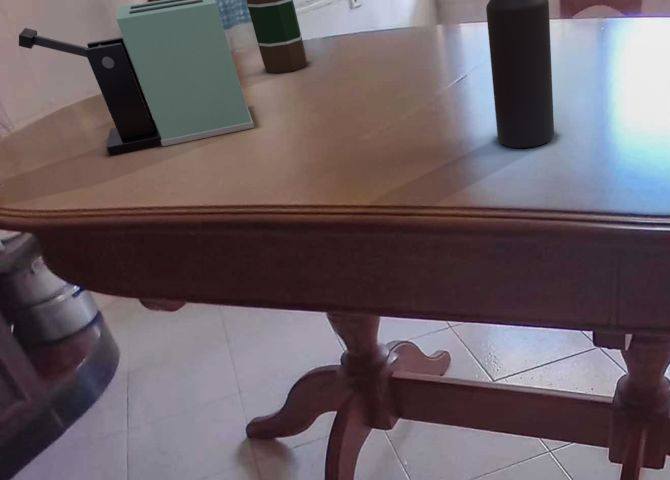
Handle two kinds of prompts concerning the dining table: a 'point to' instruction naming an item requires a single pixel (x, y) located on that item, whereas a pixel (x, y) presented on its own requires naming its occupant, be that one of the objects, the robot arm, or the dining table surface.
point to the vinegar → (521, 71)
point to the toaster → (185, 68)
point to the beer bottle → (278, 35)
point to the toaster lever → (49, 43)
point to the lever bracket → (122, 97)
